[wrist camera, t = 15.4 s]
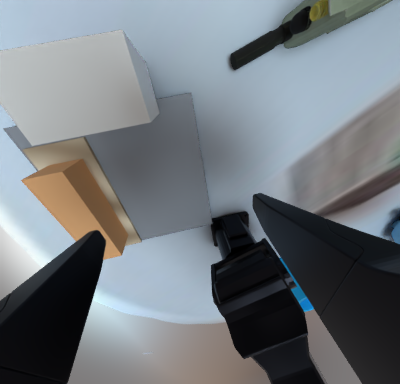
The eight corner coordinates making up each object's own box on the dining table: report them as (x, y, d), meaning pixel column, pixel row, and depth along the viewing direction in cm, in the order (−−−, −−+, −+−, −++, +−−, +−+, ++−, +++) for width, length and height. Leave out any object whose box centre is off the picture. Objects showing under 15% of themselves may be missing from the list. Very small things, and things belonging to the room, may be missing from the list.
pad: (141, 240, 24) (141, 242, 24) (103, 248, 24) (102, 251, 24) (85, 136, 16) (83, 137, 15) (25, 148, 15) (21, 149, 15)
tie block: (159, 113, 15) (150, 122, 9) (89, 126, 15) (32, 146, 9) (145, 62, 13) (122, 29, 7) (64, 77, 13) (-36, 56, 7)
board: (211, 219, 25) (212, 223, 25) (103, 244, 25) (100, 249, 24) (190, 92, 16) (191, 92, 15) (12, 127, 15) (3, 128, 14)
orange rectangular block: (128, 234, 23) (121, 255, 20) (104, 240, 23) (94, 261, 20) (82, 158, 16) (62, 171, 13) (48, 165, 16) (21, 180, 13)
